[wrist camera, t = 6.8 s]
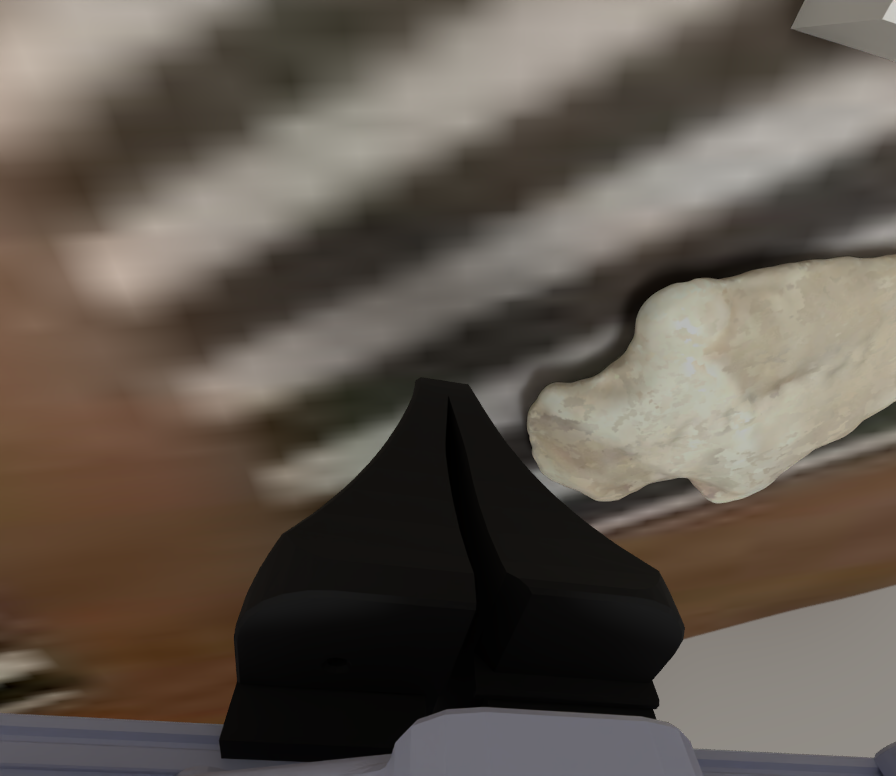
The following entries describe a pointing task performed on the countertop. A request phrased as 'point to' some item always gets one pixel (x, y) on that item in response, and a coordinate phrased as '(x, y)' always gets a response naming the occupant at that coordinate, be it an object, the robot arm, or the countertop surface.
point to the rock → (728, 382)
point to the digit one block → (852, 24)
